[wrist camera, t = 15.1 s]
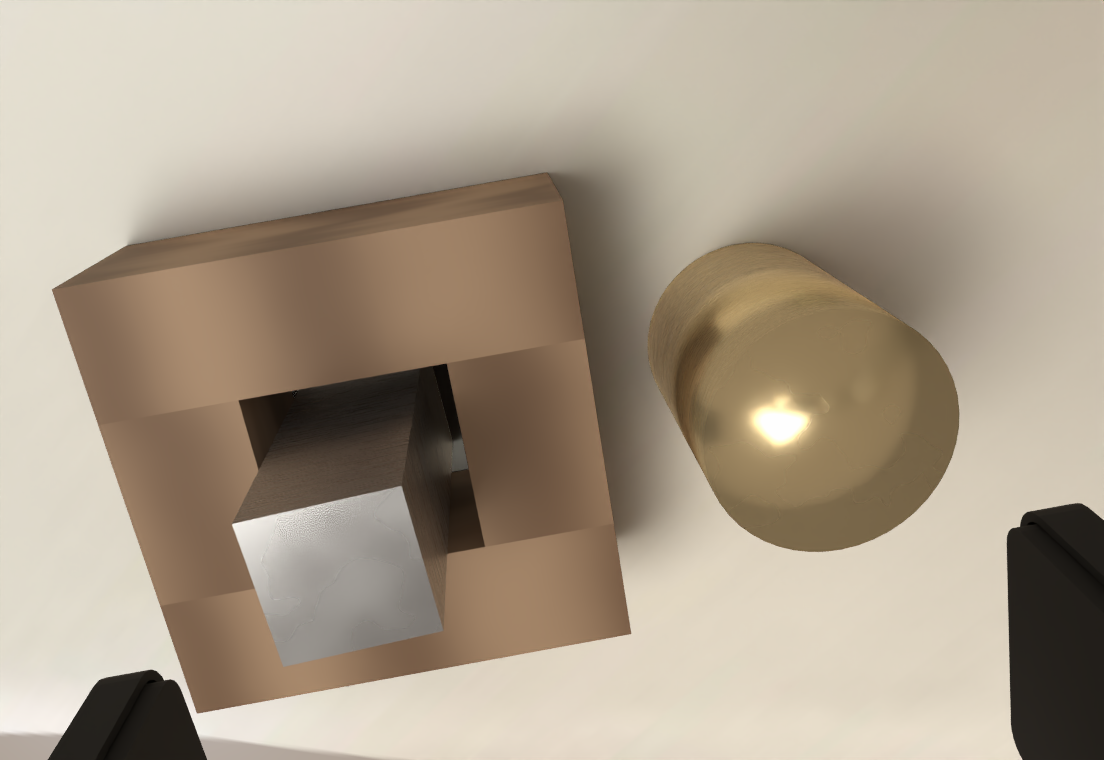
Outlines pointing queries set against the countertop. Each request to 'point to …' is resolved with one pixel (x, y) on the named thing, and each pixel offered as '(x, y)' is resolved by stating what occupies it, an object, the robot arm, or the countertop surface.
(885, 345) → the round bit
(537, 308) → the bore block
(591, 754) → the countertop surface
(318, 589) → the square bit
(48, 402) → the countertop surface
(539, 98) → the countertop surface
